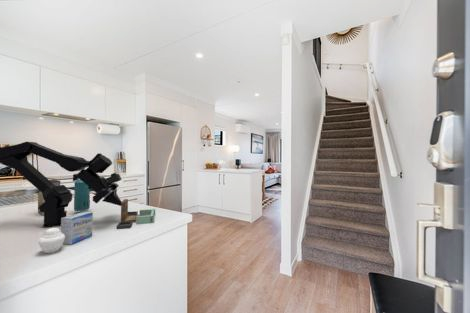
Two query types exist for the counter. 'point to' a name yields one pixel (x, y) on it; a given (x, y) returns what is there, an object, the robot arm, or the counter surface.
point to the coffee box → (40, 196)
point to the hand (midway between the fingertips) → (122, 204)
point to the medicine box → (77, 227)
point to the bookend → (125, 212)
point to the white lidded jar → (51, 240)
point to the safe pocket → (146, 218)
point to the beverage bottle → (81, 196)
